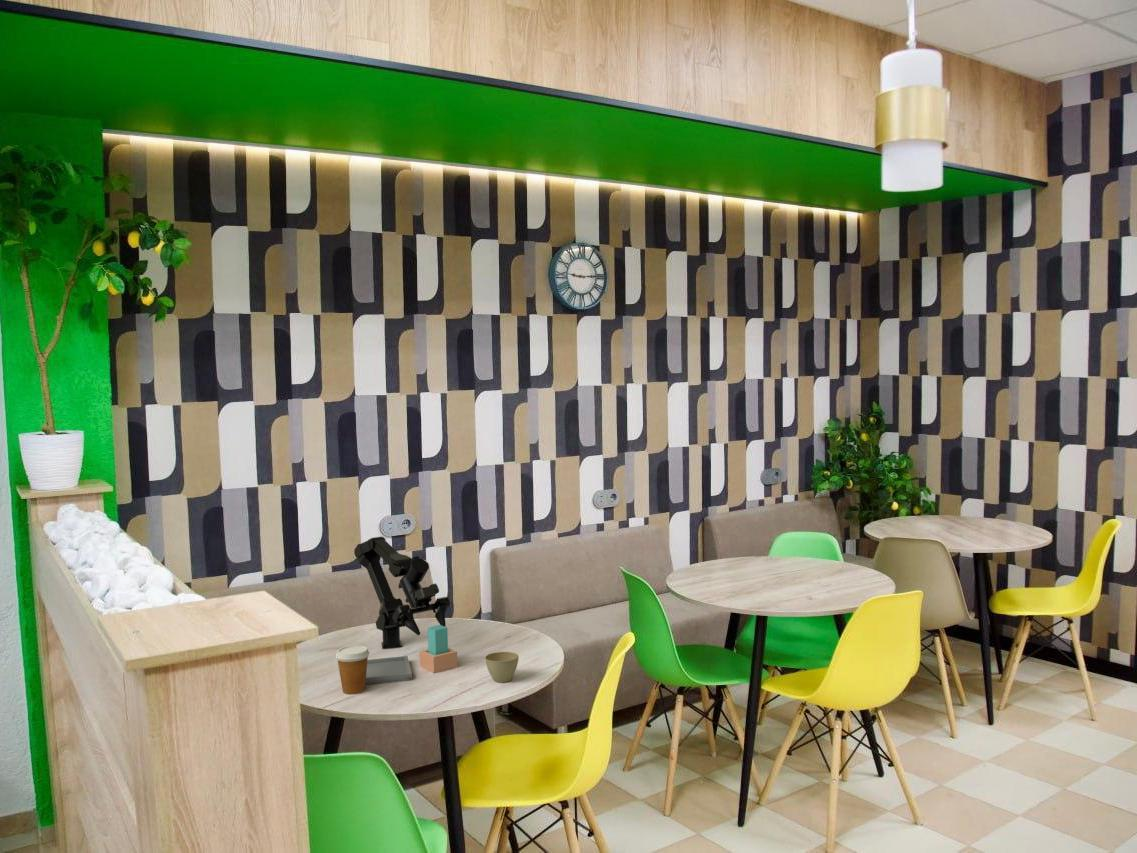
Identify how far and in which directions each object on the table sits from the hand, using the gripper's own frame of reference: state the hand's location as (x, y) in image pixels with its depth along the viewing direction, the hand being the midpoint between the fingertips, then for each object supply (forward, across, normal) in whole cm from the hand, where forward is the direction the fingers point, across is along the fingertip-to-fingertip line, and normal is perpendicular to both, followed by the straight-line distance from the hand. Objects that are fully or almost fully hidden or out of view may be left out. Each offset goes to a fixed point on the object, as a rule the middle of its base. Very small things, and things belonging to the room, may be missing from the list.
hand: (432, 631), depth 287 cm
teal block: (+10, 0, +5) cm, 11 cm away
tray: (+5, -16, +10) cm, 19 cm away
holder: (+10, 0, +5) cm, 11 cm away
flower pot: (+27, +8, -11) cm, 30 cm away
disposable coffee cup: (+11, -30, +4) cm, 32 cm away
